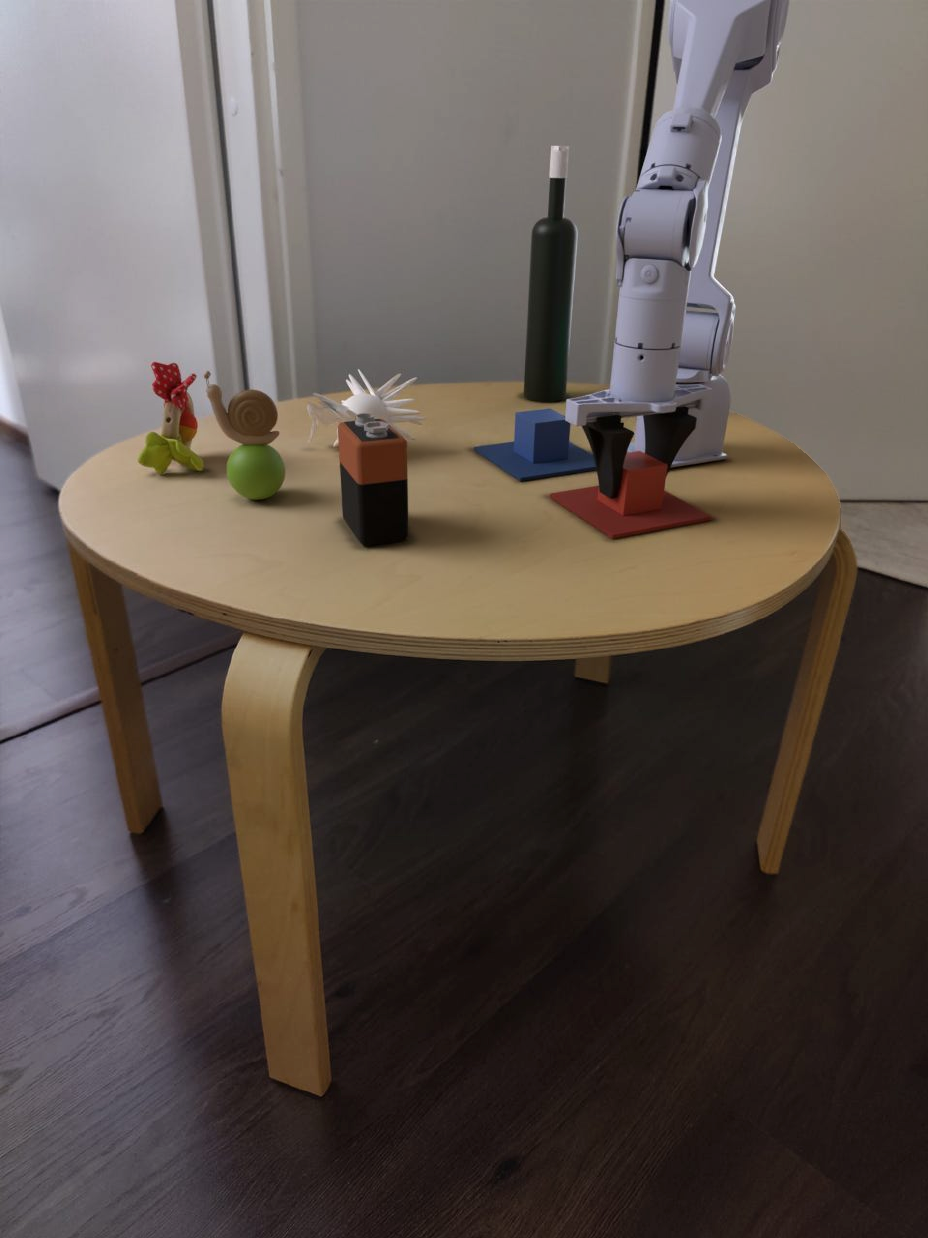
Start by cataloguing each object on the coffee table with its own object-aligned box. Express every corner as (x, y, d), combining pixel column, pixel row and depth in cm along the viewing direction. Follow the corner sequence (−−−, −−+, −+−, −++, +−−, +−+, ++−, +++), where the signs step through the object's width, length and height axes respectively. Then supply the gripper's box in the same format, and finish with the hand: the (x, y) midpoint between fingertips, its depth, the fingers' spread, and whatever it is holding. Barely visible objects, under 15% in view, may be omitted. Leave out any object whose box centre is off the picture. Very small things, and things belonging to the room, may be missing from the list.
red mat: (641, 482, 89) (642, 478, 88) (711, 520, 80) (712, 516, 80) (549, 497, 84) (549, 493, 84) (612, 539, 76) (612, 534, 76)
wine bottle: (568, 393, 119) (586, 146, 105) (562, 403, 114) (581, 146, 100) (527, 389, 120) (540, 145, 106) (520, 400, 116) (532, 145, 101)
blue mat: (557, 438, 101) (558, 435, 101) (610, 467, 92) (610, 464, 92) (473, 450, 97) (473, 446, 97) (520, 481, 88) (520, 477, 88)
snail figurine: (224, 488, 85) (208, 364, 79) (290, 487, 86) (279, 364, 80) (215, 508, 80) (197, 379, 75) (284, 507, 81) (272, 378, 75)
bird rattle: (155, 478, 93) (132, 471, 84) (150, 373, 92) (126, 355, 83) (214, 477, 94) (197, 471, 85) (210, 373, 93) (192, 355, 84)
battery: (361, 548, 73) (356, 433, 68) (341, 519, 79) (335, 411, 74) (410, 541, 75) (408, 428, 70) (387, 513, 80) (384, 406, 75)
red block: (634, 493, 85) (640, 450, 82) (662, 509, 81) (668, 464, 79) (597, 500, 83) (601, 455, 81) (623, 516, 79) (628, 470, 77)
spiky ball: (293, 454, 98) (278, 380, 93) (382, 426, 104) (372, 355, 99) (342, 480, 90) (329, 402, 85) (435, 448, 96) (428, 373, 91)
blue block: (547, 446, 97) (550, 408, 95) (568, 458, 94) (571, 418, 91) (513, 451, 95) (515, 412, 93) (532, 463, 92) (535, 423, 90)
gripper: (602, 359, 69) (587, 517, 75) (744, 345, 74) (718, 494, 81) (557, 342, 74) (547, 490, 81) (692, 330, 80) (672, 471, 87)
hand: (630, 491), depth 81 cm, fingers closed on red block, 4 cm apart
